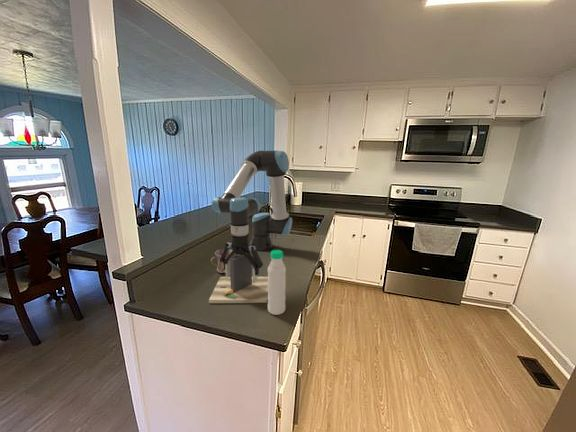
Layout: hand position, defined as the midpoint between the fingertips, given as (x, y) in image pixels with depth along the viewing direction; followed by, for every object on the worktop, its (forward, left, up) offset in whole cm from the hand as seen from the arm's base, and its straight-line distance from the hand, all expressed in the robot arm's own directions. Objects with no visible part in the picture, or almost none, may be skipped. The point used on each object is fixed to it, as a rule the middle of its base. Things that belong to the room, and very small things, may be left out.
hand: (241, 278), depth 108 cm
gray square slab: (+1, -1, -4) cm, 4 cm away
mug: (-19, -13, -6) cm, 24 cm away
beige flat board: (0, 0, -6) cm, 6 cm away
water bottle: (+15, +16, -6) cm, 23 cm away
